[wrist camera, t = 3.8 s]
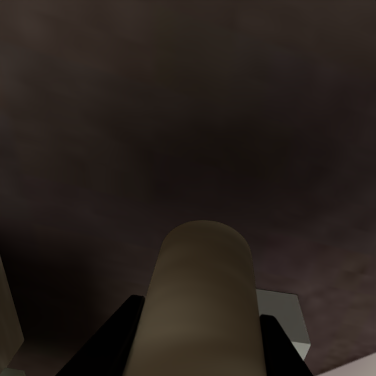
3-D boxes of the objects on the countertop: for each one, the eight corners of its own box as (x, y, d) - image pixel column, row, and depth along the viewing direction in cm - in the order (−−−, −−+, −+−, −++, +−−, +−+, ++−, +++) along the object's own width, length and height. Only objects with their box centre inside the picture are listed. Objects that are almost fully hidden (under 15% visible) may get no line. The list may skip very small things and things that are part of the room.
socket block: (296, 294, 25) (310, 344, 21) (273, 359, 29) (281, 410, 25) (191, 279, 25) (185, 325, 21) (183, 345, 29) (177, 393, 25)
